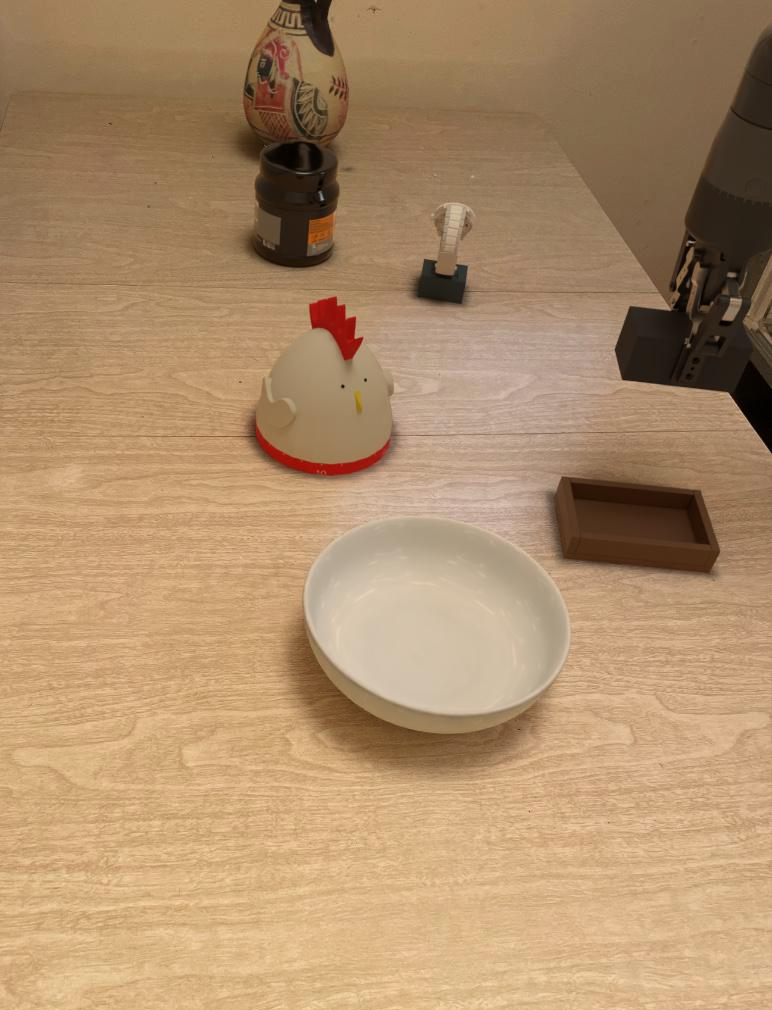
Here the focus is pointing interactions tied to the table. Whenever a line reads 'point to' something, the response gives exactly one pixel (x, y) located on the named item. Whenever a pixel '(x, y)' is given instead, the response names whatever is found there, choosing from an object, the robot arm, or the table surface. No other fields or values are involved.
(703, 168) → the robot arm
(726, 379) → the black rectangular block
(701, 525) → the brown wooden tray
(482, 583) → the serving bowl
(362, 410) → the kitchen timer
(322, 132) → the ceramic jug
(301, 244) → the supplement container
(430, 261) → the cobra figurine
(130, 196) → the table surface
